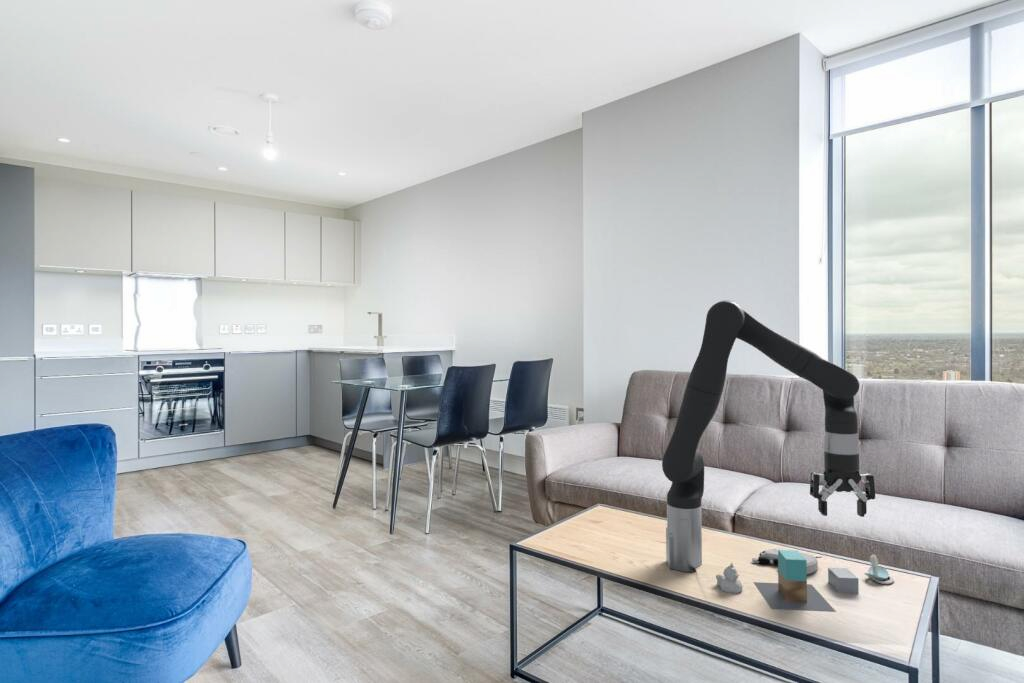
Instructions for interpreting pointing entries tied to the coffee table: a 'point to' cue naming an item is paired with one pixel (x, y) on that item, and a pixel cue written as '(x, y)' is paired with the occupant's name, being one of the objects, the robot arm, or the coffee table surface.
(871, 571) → the pacifier
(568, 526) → the coffee table surface
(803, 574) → the teal brick
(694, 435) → the robot arm
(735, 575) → the rubber duck
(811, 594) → the base plate
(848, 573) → the grey brick
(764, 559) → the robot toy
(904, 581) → the coffee table surface
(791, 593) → the base brick
